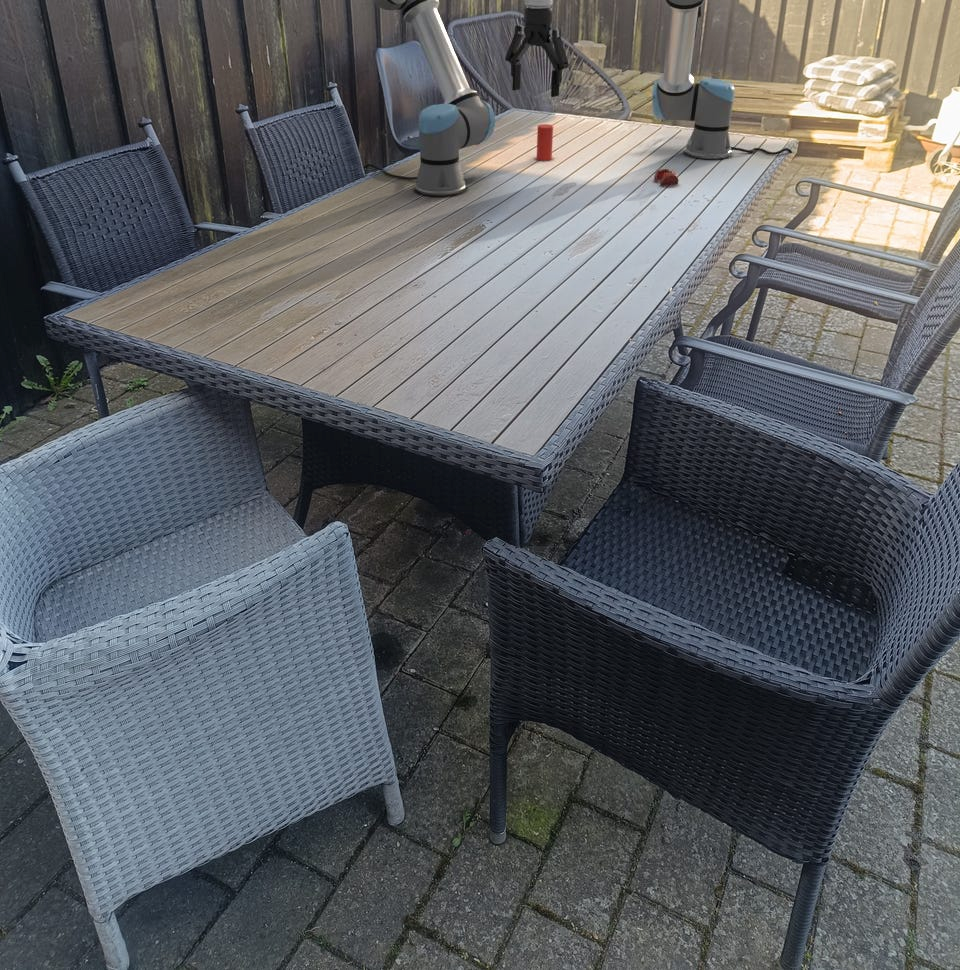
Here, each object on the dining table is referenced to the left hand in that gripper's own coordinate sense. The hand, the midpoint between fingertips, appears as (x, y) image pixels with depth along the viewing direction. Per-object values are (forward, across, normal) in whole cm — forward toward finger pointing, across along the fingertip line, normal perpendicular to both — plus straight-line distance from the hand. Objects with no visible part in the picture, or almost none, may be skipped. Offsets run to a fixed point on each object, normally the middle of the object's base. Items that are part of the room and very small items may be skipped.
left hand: (535, 93), depth 237 cm
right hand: (-3, +8, -99) cm, 99 cm away
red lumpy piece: (+29, -24, -37) cm, 53 cm away
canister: (+29, +22, -36) cm, 51 cm away
